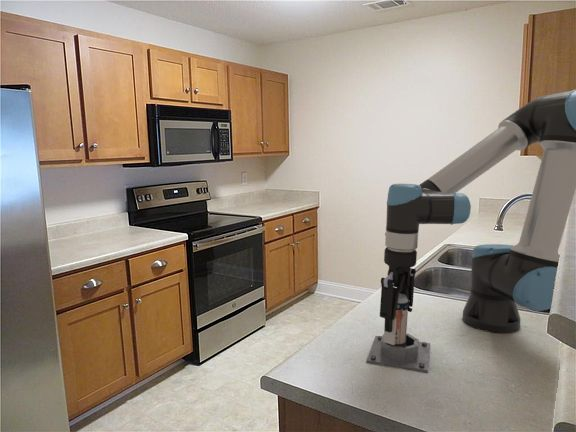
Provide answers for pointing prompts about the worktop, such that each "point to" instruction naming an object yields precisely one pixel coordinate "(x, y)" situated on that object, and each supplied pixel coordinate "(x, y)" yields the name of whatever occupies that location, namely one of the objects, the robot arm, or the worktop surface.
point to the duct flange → (400, 354)
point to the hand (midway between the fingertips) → (394, 338)
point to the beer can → (401, 319)
